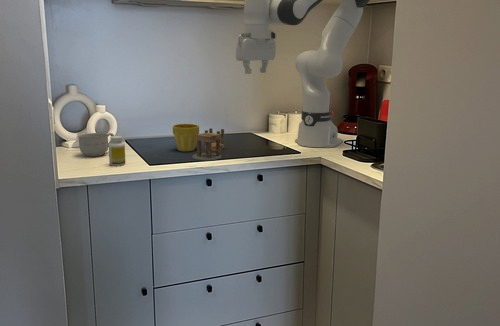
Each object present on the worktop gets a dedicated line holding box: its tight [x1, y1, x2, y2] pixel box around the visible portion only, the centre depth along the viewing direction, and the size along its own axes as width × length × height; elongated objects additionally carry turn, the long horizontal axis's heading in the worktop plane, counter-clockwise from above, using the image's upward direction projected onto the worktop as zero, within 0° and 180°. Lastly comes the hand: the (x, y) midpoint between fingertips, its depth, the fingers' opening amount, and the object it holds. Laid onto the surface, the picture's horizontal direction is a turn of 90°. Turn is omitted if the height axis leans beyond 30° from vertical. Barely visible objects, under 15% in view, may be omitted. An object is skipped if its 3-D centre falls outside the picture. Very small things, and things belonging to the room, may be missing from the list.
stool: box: [196, 132, 221, 158], centre depth 187 cm, size 6×6×8 cm
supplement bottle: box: [108, 135, 126, 167], centre depth 174 cm, size 5×5×10 cm
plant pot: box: [172, 123, 200, 152], centre depth 199 cm, size 10×10×10 cm
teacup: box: [77, 132, 115, 157], centre depth 189 cm, size 14×11×8 cm
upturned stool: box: [204, 127, 225, 152], centre depth 201 cm, size 6×6×8 cm
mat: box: [191, 152, 223, 162], centre depth 187 cm, size 11×11×1 cm
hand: (255, 73), depth 181 cm, fingers open, 8 cm apart
